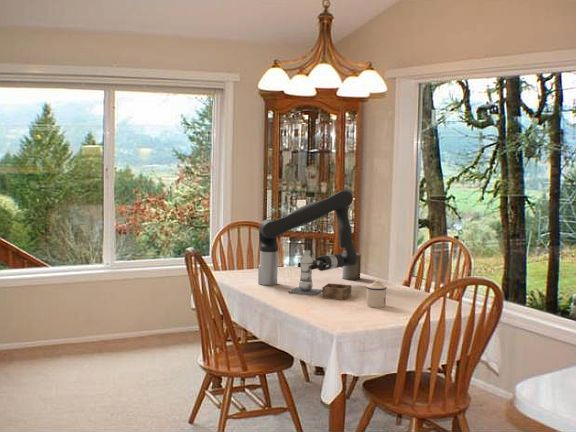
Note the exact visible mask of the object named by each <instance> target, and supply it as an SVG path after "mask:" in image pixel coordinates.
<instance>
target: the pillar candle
mask: <svg viewBox="0 0 576 432" xmlns="http://www.w3.org/2000/svg"><path fill="white" fill-rule="evenodd" d="M356 254H357V263H356V264H355V265H352V266H342V279H343V280H346V281H358V280H361V259H362V258H361V253H358V252H356Z"/></svg>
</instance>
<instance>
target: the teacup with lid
mask: <svg viewBox="0 0 576 432" xmlns="http://www.w3.org/2000/svg"><path fill="white" fill-rule="evenodd" d="M387 289H388V288H387V286H386V285H385V284H382V283H381V282H380V281H379V280H378V279H377V280H374V282H372V283H370V284H367V285H366V306H367V307H369V308H375V309H379V308H385V307H386V305H387V304H386V299H387Z"/></svg>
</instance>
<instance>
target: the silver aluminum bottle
mask: <svg viewBox="0 0 576 432" xmlns="http://www.w3.org/2000/svg"><path fill="white" fill-rule="evenodd" d="M313 260H314V259H313V258H312V256H311V249H310V250H309V249H304V250H302V256H301V258H300V260H299V263H300V266H301V267H300V278H299V280H300V281H299V283H298V284H299V286H298V287H300V289H301V290H304V291H308V290H311V289H313V277H312V276H313V275H312V272H313V270H312V269H311V265H313Z"/></svg>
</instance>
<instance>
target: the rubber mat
mask: <svg viewBox="0 0 576 432" xmlns="http://www.w3.org/2000/svg"><path fill="white" fill-rule="evenodd" d="M287 293H288V294H294V295H295V294H296V295H297V294H298V295H307V296H317V295H319V294H320V293H322V289H321V288H320V289H319V288H312V289H311V290H308V291H304V290H301V289H300V287H299V286H296V287H294V288H293V289H290V290H289V291H288V292H287Z"/></svg>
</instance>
